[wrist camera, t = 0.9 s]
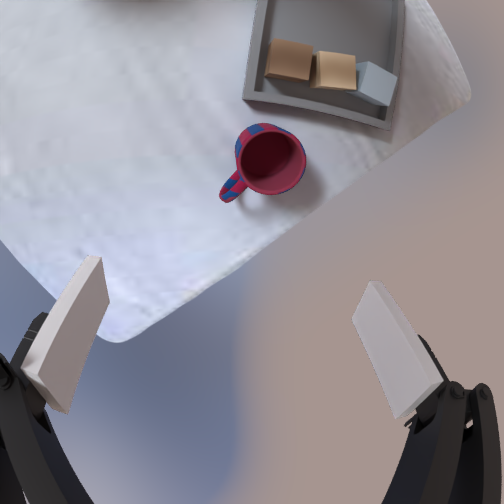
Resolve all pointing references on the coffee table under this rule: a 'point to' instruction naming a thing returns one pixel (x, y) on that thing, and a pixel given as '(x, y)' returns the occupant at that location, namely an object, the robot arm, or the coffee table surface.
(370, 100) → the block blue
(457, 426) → the robot arm
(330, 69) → the block beech
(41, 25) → the coffee table surface
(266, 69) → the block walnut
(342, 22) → the tray
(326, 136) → the coffee table surface
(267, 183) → the mug
